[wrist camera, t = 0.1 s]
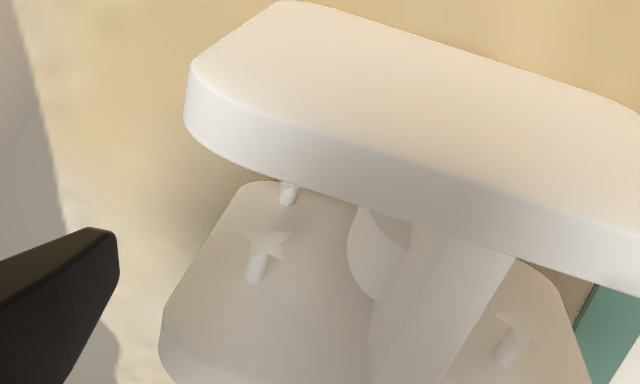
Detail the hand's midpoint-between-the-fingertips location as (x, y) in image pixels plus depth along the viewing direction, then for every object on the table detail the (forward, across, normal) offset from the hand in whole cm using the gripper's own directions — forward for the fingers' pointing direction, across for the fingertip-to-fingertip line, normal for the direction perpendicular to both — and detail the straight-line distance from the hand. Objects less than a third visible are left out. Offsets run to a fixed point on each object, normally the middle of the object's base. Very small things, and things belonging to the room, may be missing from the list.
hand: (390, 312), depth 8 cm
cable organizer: (+15, -2, +4) cm, 16 cm away
